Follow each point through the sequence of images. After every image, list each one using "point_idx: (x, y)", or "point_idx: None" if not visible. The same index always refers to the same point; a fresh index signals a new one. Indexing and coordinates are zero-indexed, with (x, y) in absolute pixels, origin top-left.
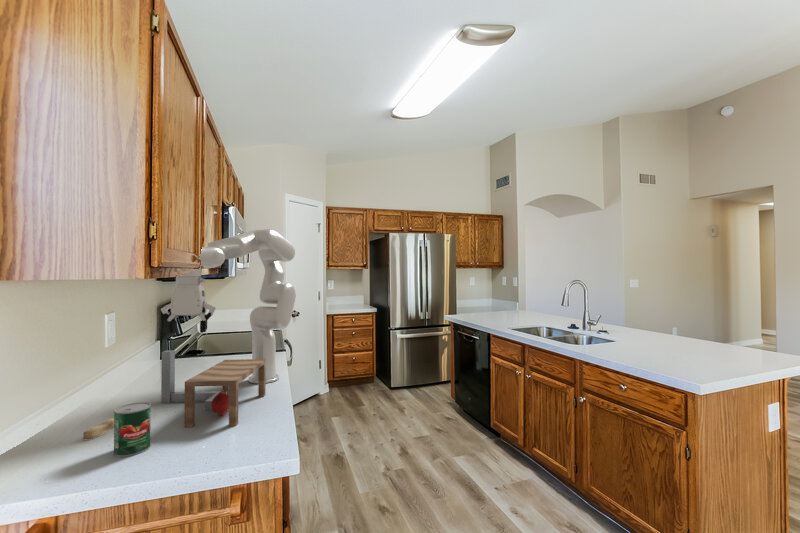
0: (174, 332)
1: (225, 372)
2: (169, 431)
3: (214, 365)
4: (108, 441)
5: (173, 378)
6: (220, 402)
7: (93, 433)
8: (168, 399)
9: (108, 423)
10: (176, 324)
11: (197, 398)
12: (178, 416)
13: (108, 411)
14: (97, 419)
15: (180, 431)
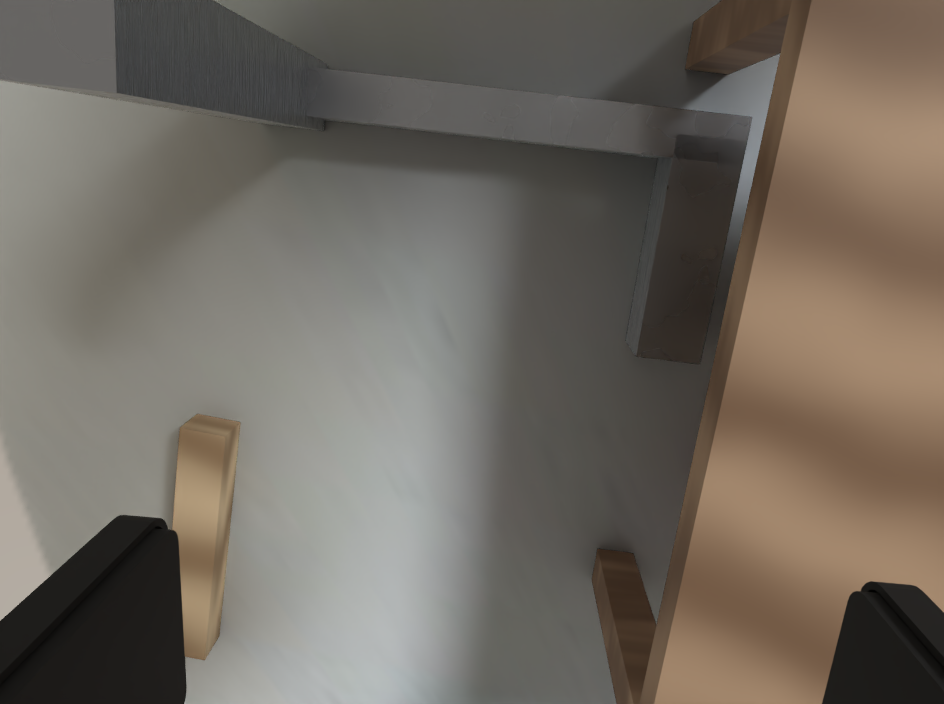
0: (169, 588)
1: (924, 589)
2: (535, 614)
3: (753, 258)
4: (307, 666)
5: (268, 55)
6: None
7: (209, 646)
8: (306, 128)
9: (207, 567)
10: (62, 675)
11: (518, 141)
12: (497, 416)
13: (10, 243)
14: (48, 376)
15: (590, 624)
